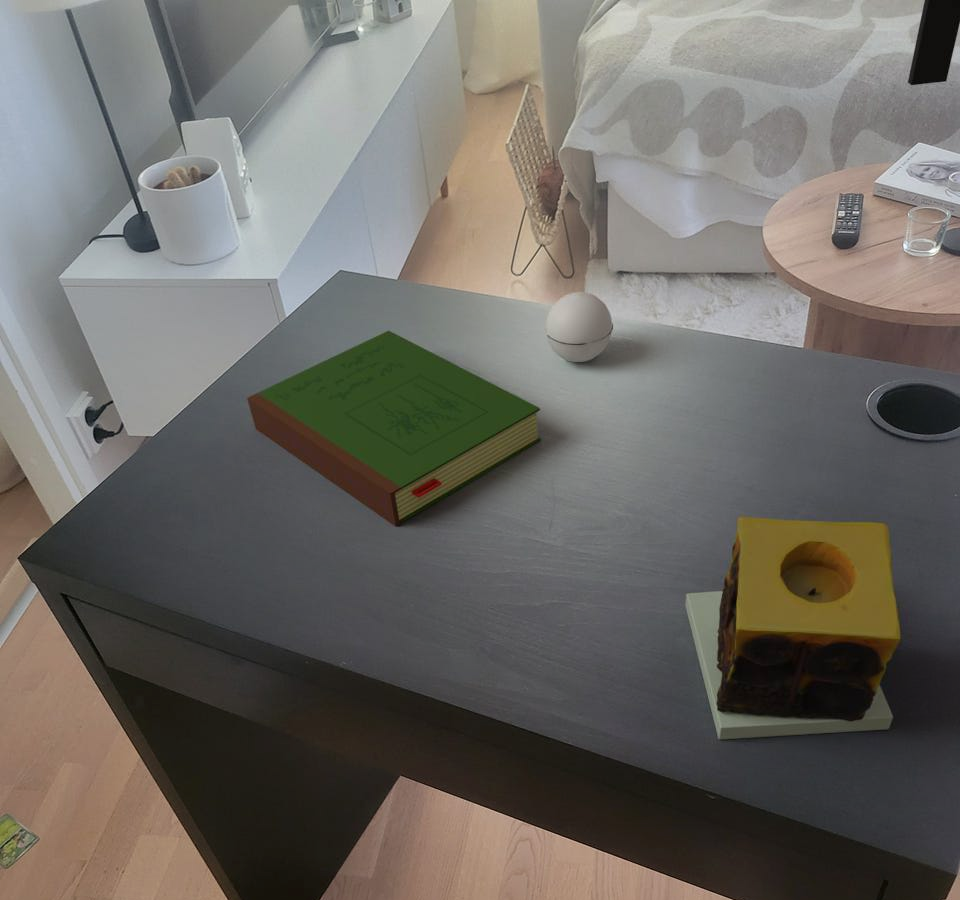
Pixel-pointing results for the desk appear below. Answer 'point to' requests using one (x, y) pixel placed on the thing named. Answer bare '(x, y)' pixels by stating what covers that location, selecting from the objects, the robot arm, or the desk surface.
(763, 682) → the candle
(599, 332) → the white ball
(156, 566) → the desk surface
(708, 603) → the scale
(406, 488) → the hardcover book
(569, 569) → the desk surface
